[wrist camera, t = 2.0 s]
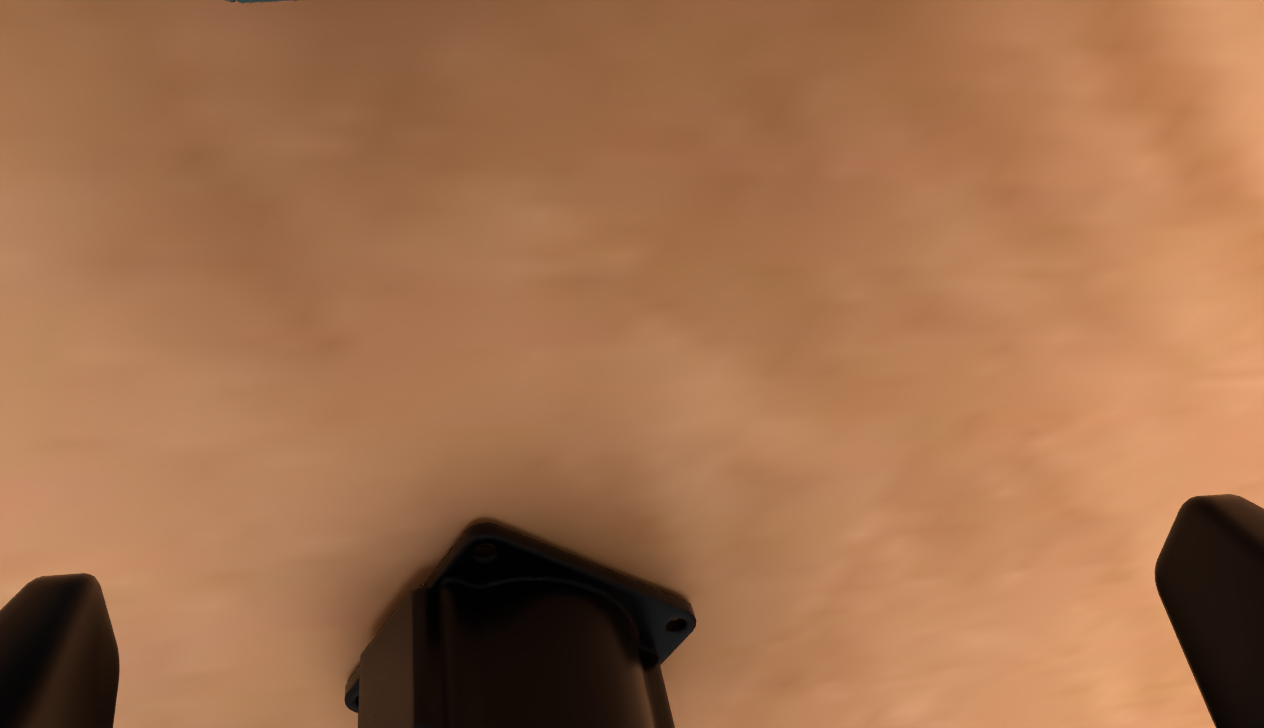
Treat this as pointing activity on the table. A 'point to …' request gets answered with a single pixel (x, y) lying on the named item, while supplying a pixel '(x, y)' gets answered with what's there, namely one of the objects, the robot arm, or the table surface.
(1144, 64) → the table surface
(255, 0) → the teal bowl
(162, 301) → the table surface
